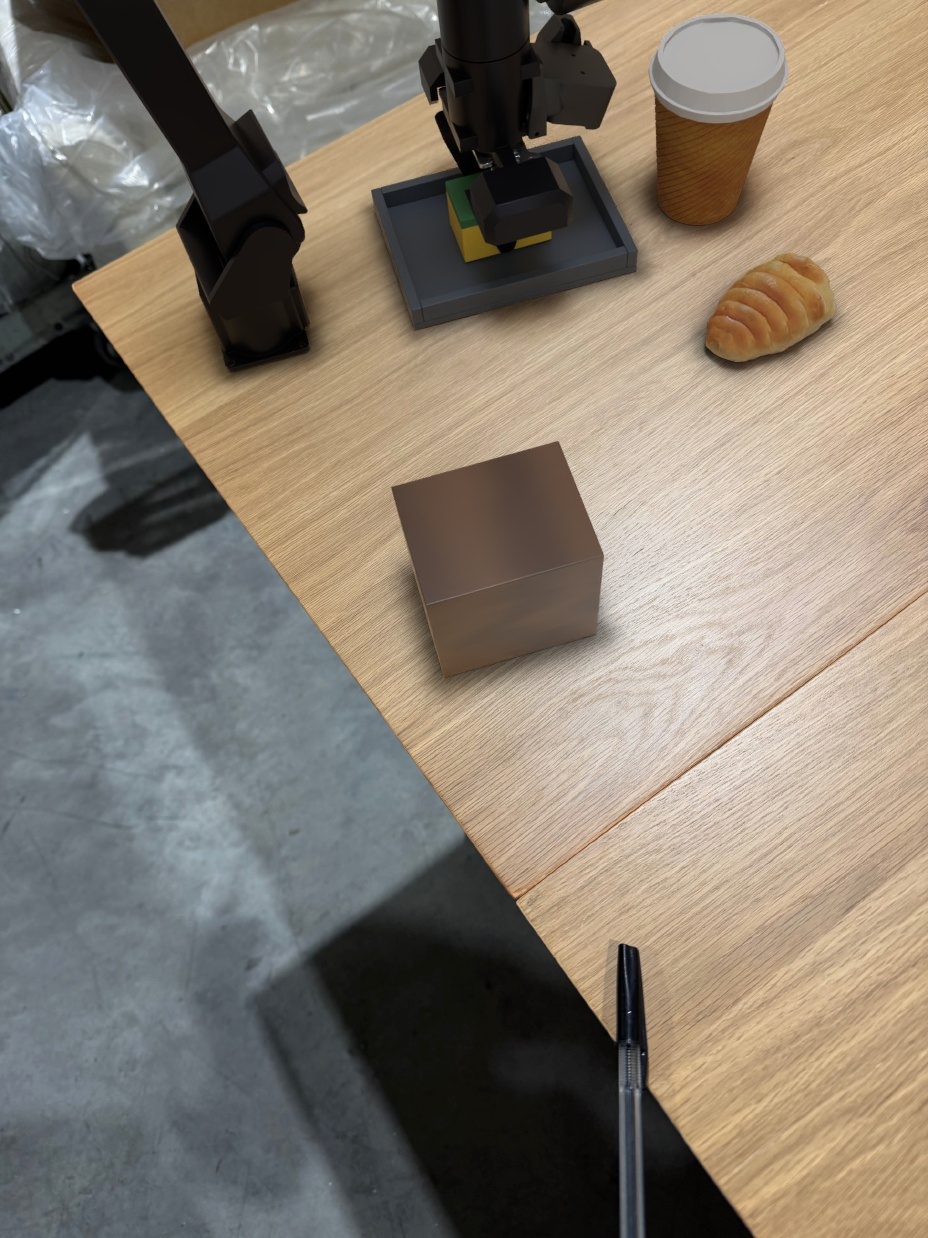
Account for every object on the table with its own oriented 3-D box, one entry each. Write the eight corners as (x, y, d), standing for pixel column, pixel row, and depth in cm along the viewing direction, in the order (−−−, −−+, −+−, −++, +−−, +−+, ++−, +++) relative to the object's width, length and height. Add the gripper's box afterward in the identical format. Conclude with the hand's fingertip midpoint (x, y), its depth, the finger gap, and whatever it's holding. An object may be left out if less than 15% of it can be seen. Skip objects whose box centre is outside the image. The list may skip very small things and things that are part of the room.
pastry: (747, 388, 68) (757, 351, 65) (679, 335, 71) (686, 296, 67) (839, 319, 70) (853, 279, 67) (769, 270, 73) (780, 229, 69)
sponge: (465, 262, 74) (460, 221, 71) (450, 223, 76) (445, 181, 73) (551, 239, 75) (551, 196, 71) (534, 200, 77) (533, 157, 73)
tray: (414, 330, 73) (411, 310, 71) (374, 210, 79) (370, 189, 77) (636, 271, 74) (638, 249, 72) (579, 157, 80) (580, 134, 78)
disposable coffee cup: (778, 178, 77) (815, 30, 66) (725, 256, 74) (755, 113, 63) (670, 142, 80) (689, -6, 69) (615, 216, 76) (625, 72, 66)
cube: (444, 678, 60) (425, 606, 51) (413, 571, 64) (390, 486, 55) (596, 634, 61) (604, 555, 52) (557, 530, 64) (558, 440, 55)
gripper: (657, 92, 58) (637, 286, 72) (560, -75, 66) (559, 128, 80) (478, 139, 57) (493, 326, 71) (404, -35, 65) (430, 163, 79)
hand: (498, 229), depth 75 cm, fingers closed on sponge, 4 cm apart
